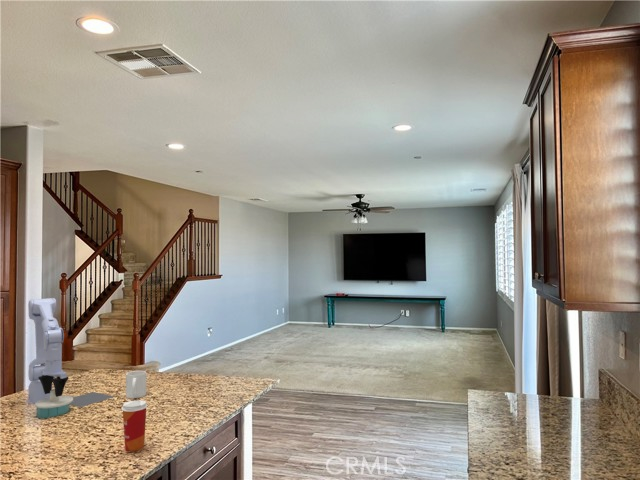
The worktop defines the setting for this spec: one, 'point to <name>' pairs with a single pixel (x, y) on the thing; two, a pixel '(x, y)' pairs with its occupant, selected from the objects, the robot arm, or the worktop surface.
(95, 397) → the mat
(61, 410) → the bowl
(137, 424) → the paper cup
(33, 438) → the worktop surface
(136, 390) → the mug
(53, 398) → the lid
